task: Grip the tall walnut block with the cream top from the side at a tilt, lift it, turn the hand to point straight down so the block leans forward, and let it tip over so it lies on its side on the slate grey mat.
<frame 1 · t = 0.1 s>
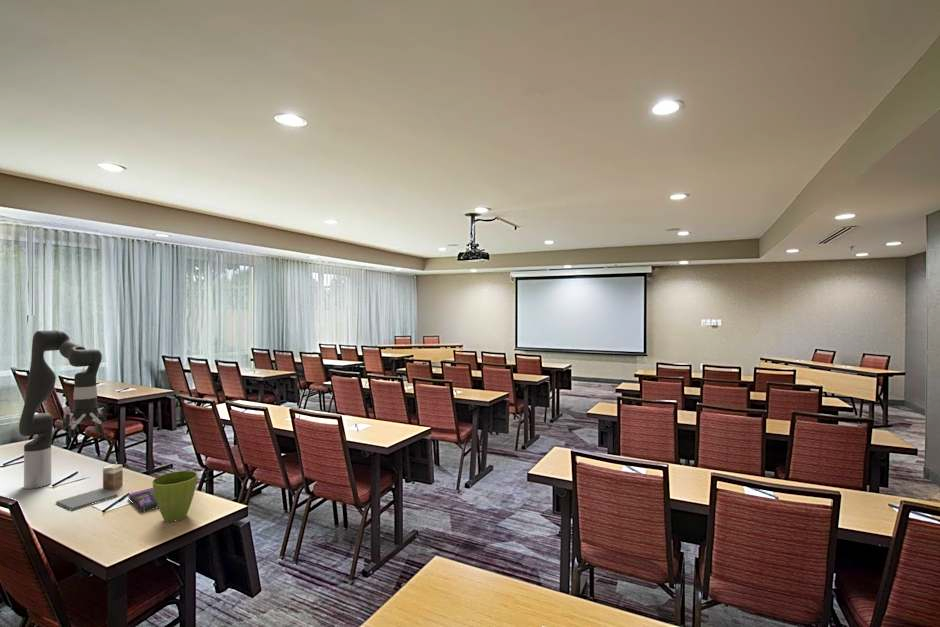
hand: (85, 435, 188), 29 cm above the table, tool pointing down, fingers open, 8 cm apart
flower pot: (175, 518, 177), on the table
mat: (87, 499, 193), on the table
box: (153, 502, 193), on the table
block: (112, 487, 207), on the table
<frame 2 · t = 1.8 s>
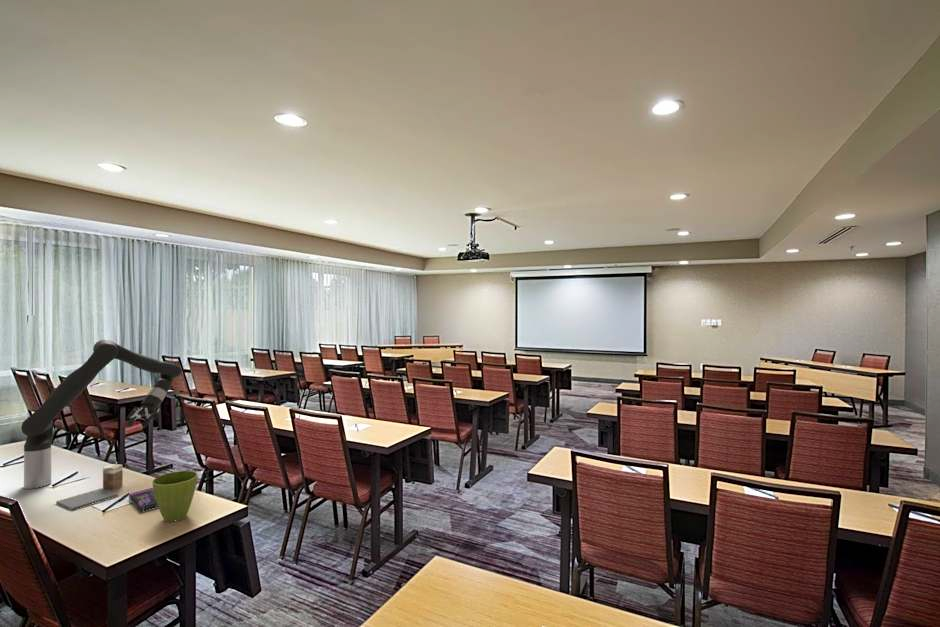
hand: (135, 426, 220), 25 cm above the table, tool tilted 45°, fingers open, 8 cm apart
nothing on the table moved.
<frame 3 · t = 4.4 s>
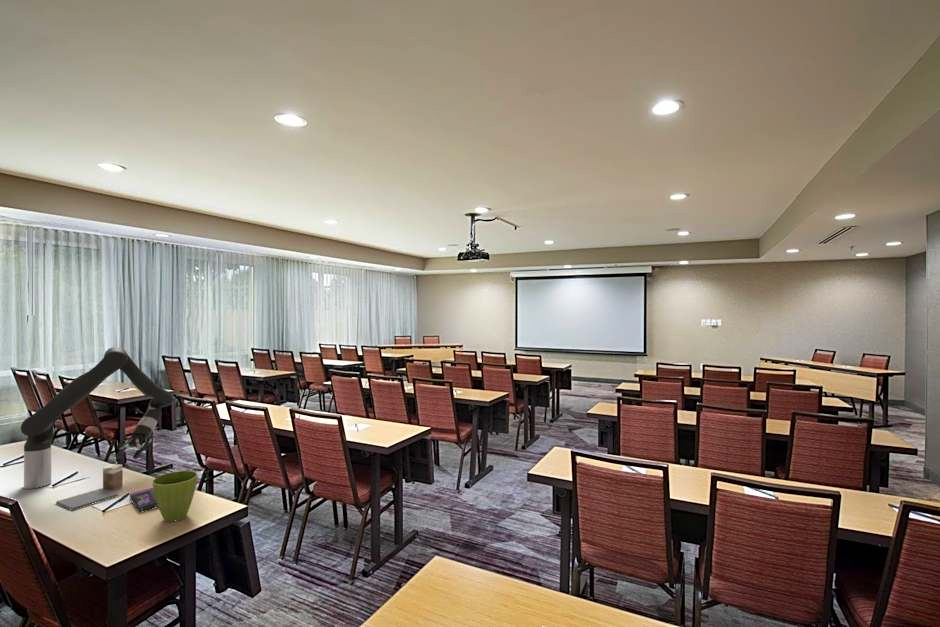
hand: (126, 458, 214), 11 cm above the table, tool tilted 45°, fingers open, 8 cm apart
nothing on the table moved.
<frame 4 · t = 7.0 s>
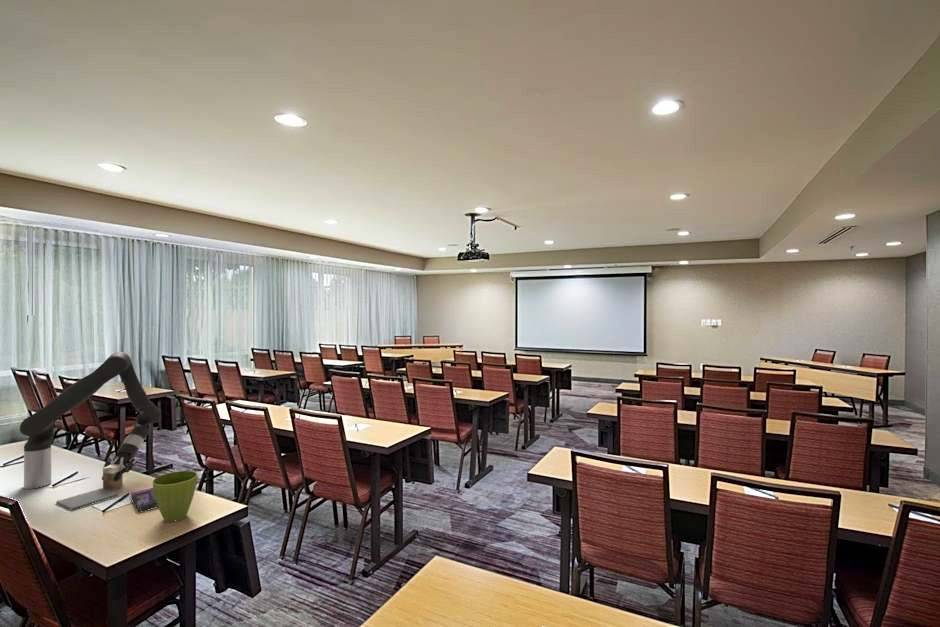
hand: (109, 480, 205), 4 cm above the table, tool tilted 45°, fingers closed on block, 5 cm apart
block: (112, 487, 207), on the table, touching gripper
everything else where it was.
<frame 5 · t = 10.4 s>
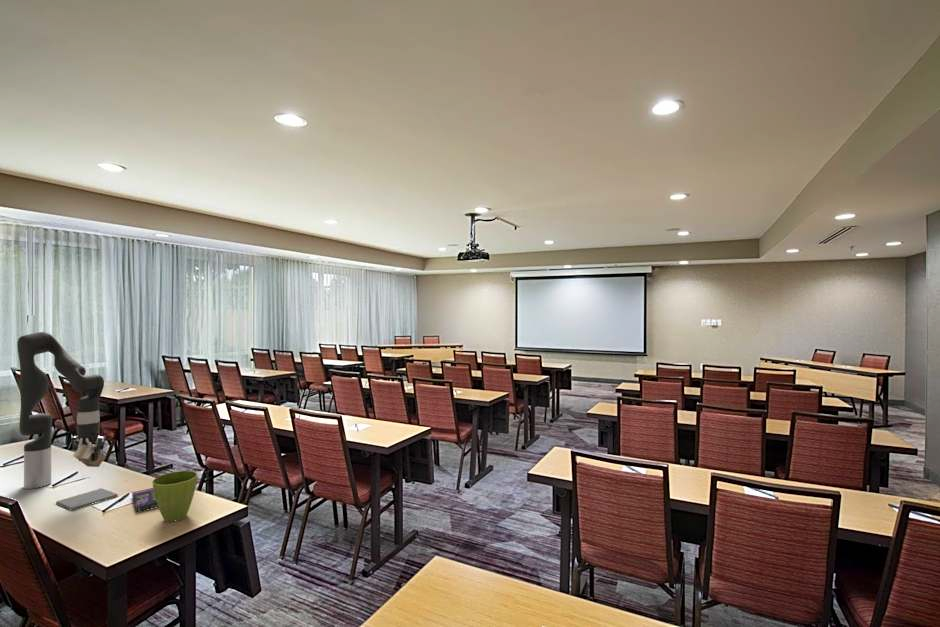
hand: (88, 460, 193), 17 cm above the table, tool pointing down, fingers closed on block, 5 cm apart
block: (96, 461, 197), point 15 cm above the table, tilted 45°, touching gripper
everything else where it was.
when the fingers open (6 cm above the table, at t = 13.0 s): block moves 2 cm and tips over, resting on mat.
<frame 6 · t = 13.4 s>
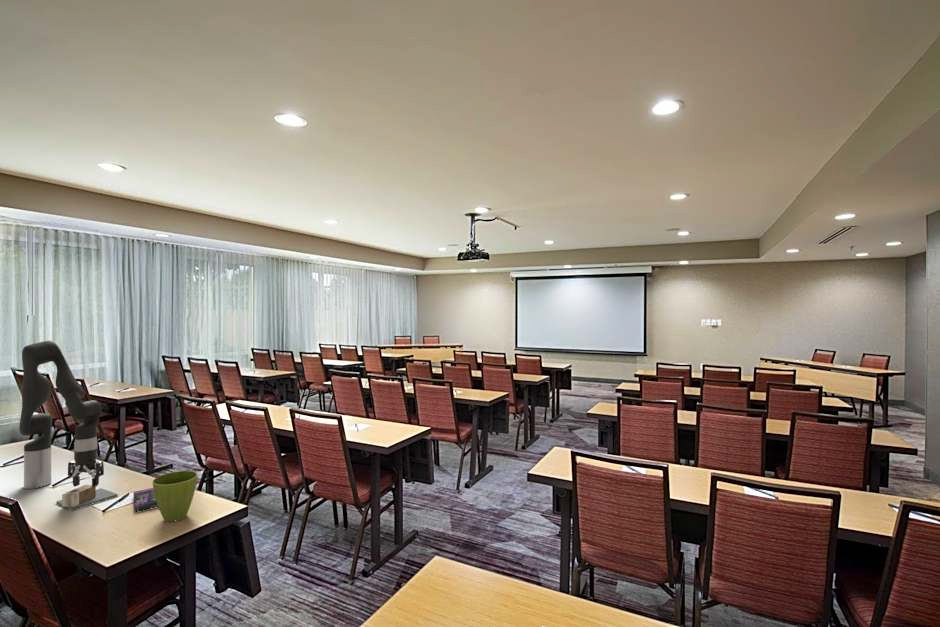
hand: (85, 486, 192), 7 cm above the table, tool pointing down, fingers open, 8 cm apart
block: (90, 490, 194), point 3 cm above the table, tilted 90°, touching mat
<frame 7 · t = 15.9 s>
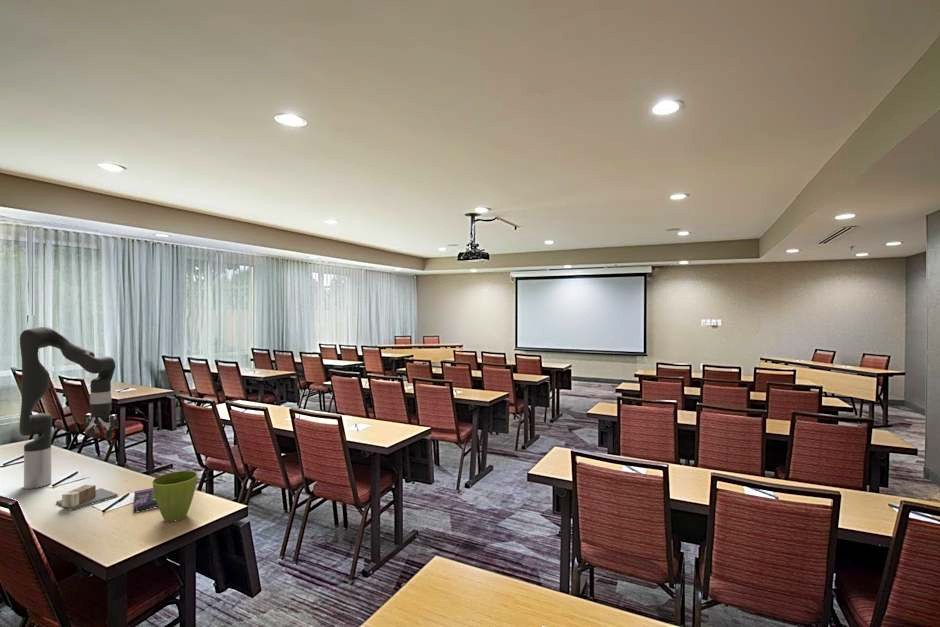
hand: (100, 437, 201), 25 cm above the table, tool pointing down, fingers open, 8 cm apart
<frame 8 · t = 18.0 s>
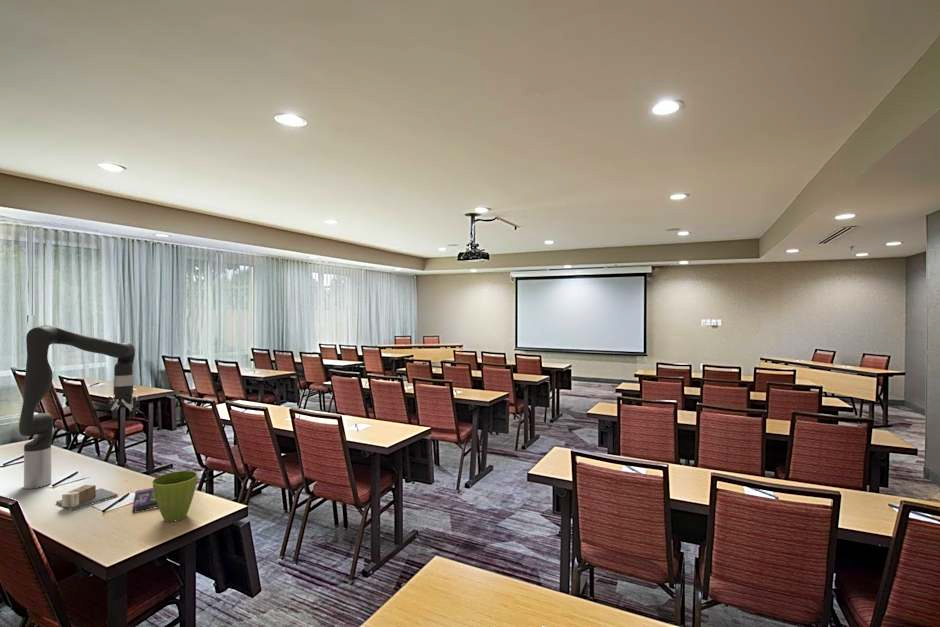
hand: (123, 418, 216), 30 cm above the table, tool pointing down, fingers open, 8 cm apart
at the end: block tilted 90°; block inside the target area on the mat (1.1 cm from its centre), point 3.5 cm above the mat's base; the gripper is holding nothing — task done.
